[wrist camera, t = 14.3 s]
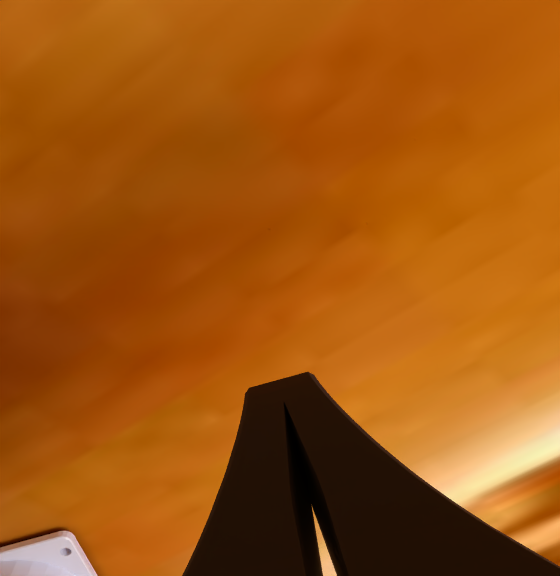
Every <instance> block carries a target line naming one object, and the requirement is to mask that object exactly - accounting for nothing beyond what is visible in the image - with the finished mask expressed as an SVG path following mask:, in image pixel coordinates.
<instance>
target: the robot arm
mask: <svg viewBox="0 0 560 576" xmlns="http://www.w3.org/2000/svg"><path fill="white" fill-rule="evenodd" d="M311 504H312V505H311ZM312 507H313V510H314V513H315V515H316V518H317V521H318V524H319V527H320V529H321V532H322V535H323V538H324V540H325V543H326V546H327V549H328V552H329V554H330V557H331V560H332V563H333V565H334V568H335V571H336V574H337V576H560V567H559V566H558V565H556V564H554V563H552V562H551V561H549V560H547V559H546V558H544V557H542V556H541V555H539V554H537V553H535V552H534V551H532V550H530V549H529V548H527V547H525V546H524V545H522V544H520V543H518V542H517V541H515V540H513V539H512V538H510V537H508V536H507V535H505V534H503V533H501V532H500V531H498V530H496V529H495V528H493V527H491V526H490V525H488V524H487V523H485V522H484V521H482V520H481V519H479V518H478V517H476V516H475V515H473V514H471V513H470V512H468V511H467V510H465V509H464V508H462V507H461V506H459V505H458V504H456V503H455V502H453V501H452V500H451V499H449V498H448V497H446V496H445V495H444V494H442V493H441V492H439V491H438V490H437V489H435V488H434V487H432V486H431V485H430V484H428V483H427V482H425V481H424V480H423V479H422V478H420V477H419V476H418V475H416V474H415V473H414V472H412V471H411V470H410V469H409V468H407V467H406V466H405V465H404V464H402V463H401V462H400V461H399V460H397V459H396V458H395V457H394V456H393V455H391V454H390V453H389V452H388V451H387V450H385V449H384V448H383V447H382V446H381V445H380V444H379V443H377V442H376V441H375V440H374V439H373V438H372V437H371V436H370V435H369V434H367V433H366V432H365V431H364V430H363V429H362V428H361V427H360V426H359V425H358V424H357V423H356V422H355V421H354V420H353V419H352V418H351V417H350V416H349V415H348V414H347V413H346V412H345V411H344V410H343V409H342V408H341V407H340V406H339V405H338V404H337V403H336V402H335V401H334V400H333V398H332V397H331V396H330V395H329V394H328V393H327V392H326V390H325V389H324V388H323V387H322V385H321V384H320V383H319V381H318V380H317V379H316V377H315V376H314V375H313V374H311V373H309V372H305V373H302V374H298V375H294V376H291V377H287V378H283V379H280V380H276V381H272V382H269V383H265V384H262V385H258V386H254V387H251V388H249V389H248V390H247V392H246V393H245V399H244V406H243V411H242V416H241V421H240V425H239V429H238V432H237V436H236V440H235V443H234V447H233V450H232V453H231V456H230V460H229V463H228V466H227V469H226V472H225V475H224V478H223V481H222V484H221V486H220V489H219V491H218V494H217V497H216V499H215V502H214V505H213V507H212V510H211V513H210V515H209V518H208V520H207V523H206V525H205V527H204V530H203V532H202V534H201V537H200V539H199V541H198V543H197V546H196V548H195V550H194V552H193V554H192V556H191V559H190V561H189V563H188V565H187V567H186V569H185V571H184V573H183V575H182V576H323V573H322V567H321V561H320V555H319V548H318V542H317V536H316V530H315V524H314V517H313V511H312ZM0 576H97V574H96V572H95V571H94V569H93V567H92V565H91V564H90V562H89V560H88V559H87V557H86V555H85V553H84V552H83V550H82V548H81V547H80V545H79V543H78V541H77V540H76V538H75V536H74V535H73V534H72V533H71V532H69V531H58V532H55V533H51V534H48V535H44V536H40V537H37V538H33V539H29V540H26V541H22V542H18V543H15V544H11V545H7V546H4V547H0Z"/></svg>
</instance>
